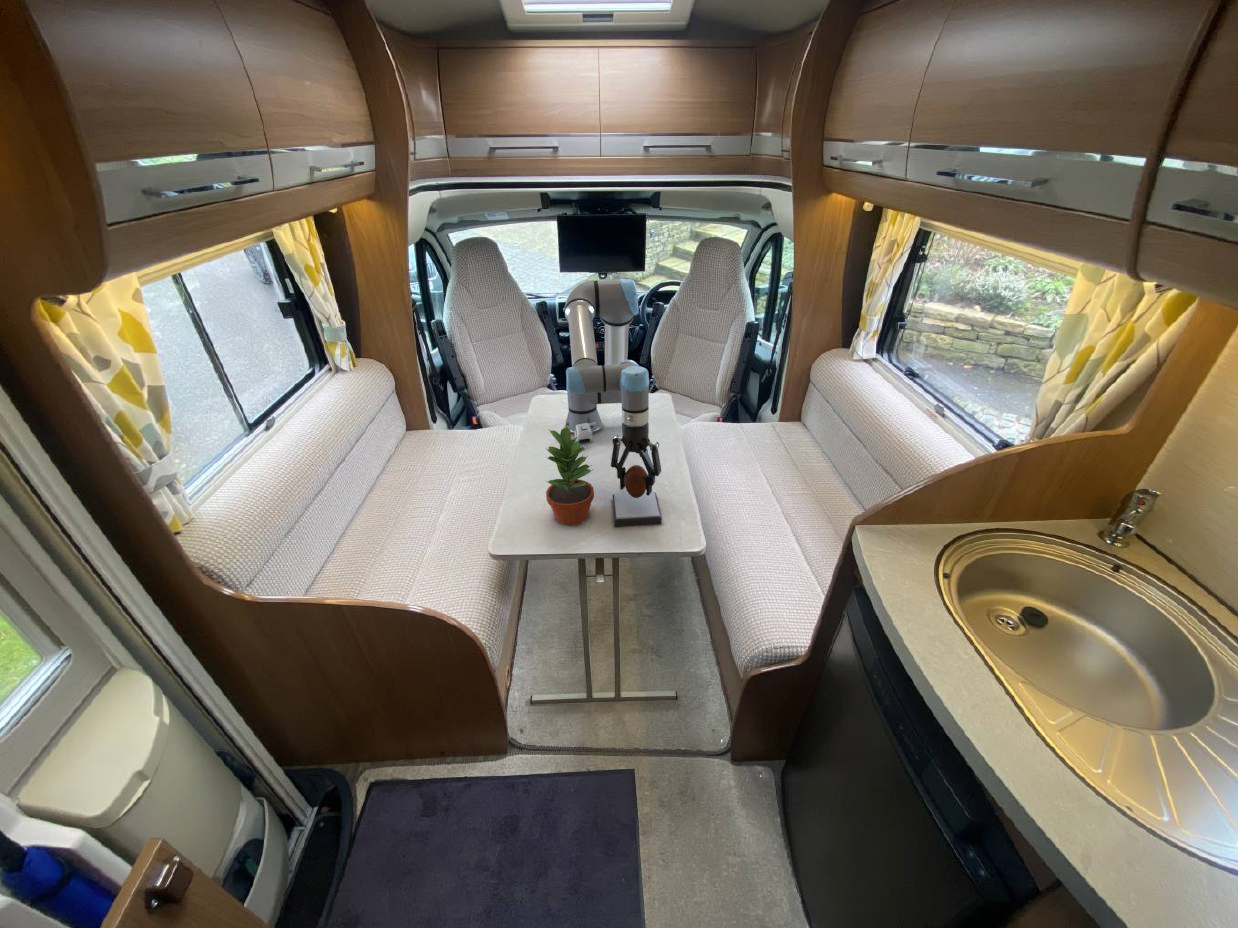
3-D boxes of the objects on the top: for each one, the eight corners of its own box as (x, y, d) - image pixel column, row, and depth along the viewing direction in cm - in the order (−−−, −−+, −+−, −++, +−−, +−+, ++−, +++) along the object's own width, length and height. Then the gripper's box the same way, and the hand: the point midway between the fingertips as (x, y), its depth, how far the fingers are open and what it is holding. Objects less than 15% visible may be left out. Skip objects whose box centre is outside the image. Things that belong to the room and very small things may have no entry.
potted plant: (602, 523, 150) (598, 435, 135) (553, 533, 147) (542, 443, 132) (591, 497, 163) (585, 413, 148) (545, 506, 159) (534, 421, 144)
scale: (612, 500, 161) (612, 492, 160) (655, 498, 162) (655, 490, 160) (614, 526, 149) (614, 518, 147) (661, 524, 150) (661, 516, 148)
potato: (623, 501, 146) (622, 478, 142) (623, 480, 156) (623, 458, 152) (649, 501, 146) (649, 478, 142) (648, 480, 156) (648, 458, 152)
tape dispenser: (576, 446, 198) (579, 436, 188) (572, 431, 200) (575, 421, 190) (590, 444, 199) (594, 434, 190) (586, 429, 201) (589, 418, 192)
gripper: (596, 422, 141) (599, 489, 152) (665, 433, 133) (664, 503, 144) (607, 411, 146) (610, 477, 158) (674, 422, 139) (672, 490, 150)
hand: (635, 490), depth 151 cm, fingers closed on potato, 8 cm apart
